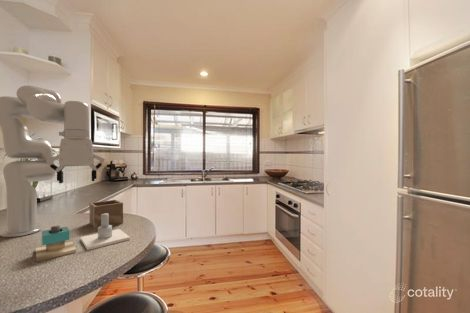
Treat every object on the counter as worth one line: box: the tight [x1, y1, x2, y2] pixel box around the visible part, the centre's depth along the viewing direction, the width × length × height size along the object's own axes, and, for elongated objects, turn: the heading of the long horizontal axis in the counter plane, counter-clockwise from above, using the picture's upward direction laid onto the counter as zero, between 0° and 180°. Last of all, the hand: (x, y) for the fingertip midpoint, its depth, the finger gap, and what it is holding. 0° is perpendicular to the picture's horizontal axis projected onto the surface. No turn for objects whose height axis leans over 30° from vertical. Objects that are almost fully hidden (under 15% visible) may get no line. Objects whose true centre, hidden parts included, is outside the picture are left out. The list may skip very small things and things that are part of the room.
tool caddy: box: [89, 199, 124, 229], centre depth 108 cm, size 12×12×10 cm
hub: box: [80, 213, 131, 251], centre depth 85 cm, size 14×14×10 cm
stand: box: [35, 225, 77, 263], centre depth 75 cm, size 12×10×8 cm
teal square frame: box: [41, 226, 71, 246], centre depth 75 cm, size 7×7×3 cm
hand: (77, 181), depth 80 cm, fingers open, 9 cm apart
